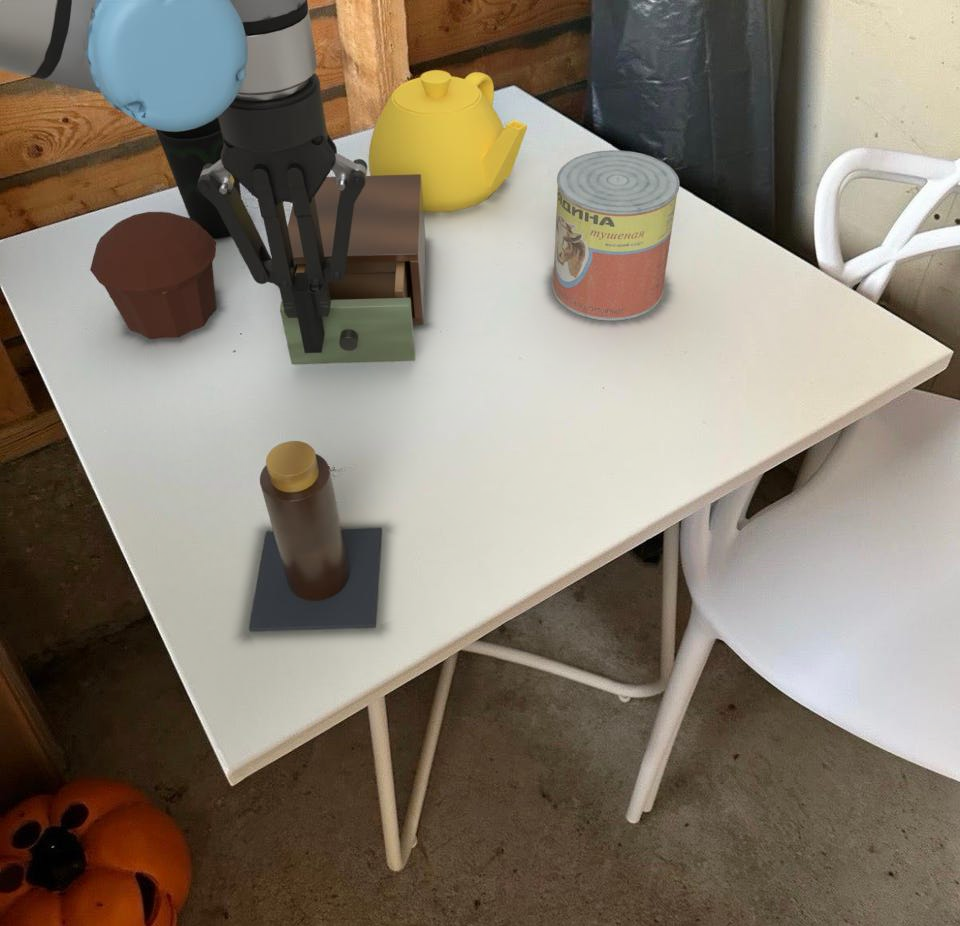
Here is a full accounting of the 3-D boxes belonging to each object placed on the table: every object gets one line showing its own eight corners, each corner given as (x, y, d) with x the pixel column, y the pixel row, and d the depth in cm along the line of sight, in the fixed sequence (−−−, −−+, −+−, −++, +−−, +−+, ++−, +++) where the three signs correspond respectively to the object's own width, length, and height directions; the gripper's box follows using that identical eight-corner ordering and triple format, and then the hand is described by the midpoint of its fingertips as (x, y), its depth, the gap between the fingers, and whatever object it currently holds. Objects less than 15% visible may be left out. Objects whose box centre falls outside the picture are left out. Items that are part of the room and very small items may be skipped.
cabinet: (423, 324, 91) (417, 253, 85) (294, 328, 91) (280, 257, 85) (425, 242, 101) (421, 173, 95) (310, 245, 101) (298, 177, 95)
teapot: (342, 190, 109) (327, 82, 100) (442, 128, 119) (437, 26, 110) (477, 245, 100) (475, 133, 91) (573, 174, 111) (579, 67, 101)
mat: (249, 631, 66) (248, 628, 66) (266, 534, 72) (265, 531, 72) (375, 627, 66) (374, 624, 66) (381, 531, 72) (381, 527, 72)
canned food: (531, 275, 96) (534, 168, 88) (622, 245, 100) (633, 139, 91) (590, 333, 89) (600, 224, 81) (685, 299, 93) (704, 191, 84)
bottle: (284, 602, 67) (250, 485, 58) (291, 552, 71) (260, 434, 62) (347, 600, 67) (322, 482, 58) (351, 550, 71) (329, 432, 62)
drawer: (414, 369, 85) (409, 313, 80) (289, 373, 85) (277, 317, 80) (418, 276, 95) (413, 222, 90) (306, 279, 95) (297, 225, 90)
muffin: (118, 359, 88) (83, 270, 81) (105, 295, 95) (72, 208, 88) (242, 328, 91) (219, 240, 84) (220, 269, 98) (198, 183, 91)
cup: (172, 239, 102) (141, 136, 94) (202, 204, 107) (176, 103, 99) (236, 247, 101) (211, 143, 92) (264, 211, 106) (243, 109, 97)
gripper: (361, 53, 67) (390, 315, 84) (182, 58, 67) (247, 319, 84) (353, 99, 62) (386, 368, 79) (159, 104, 62) (234, 372, 79)
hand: (314, 343), depth 82 cm, fingers closed
